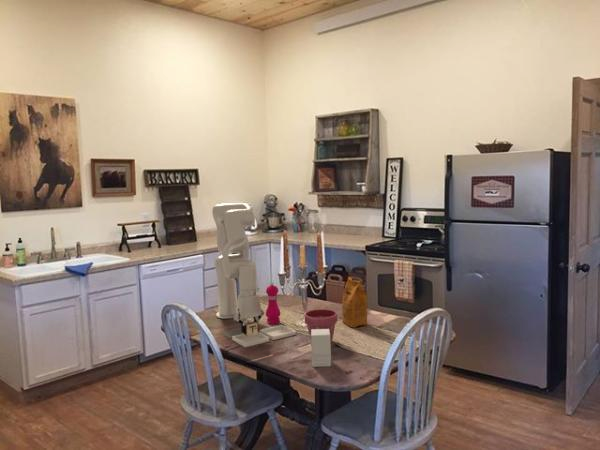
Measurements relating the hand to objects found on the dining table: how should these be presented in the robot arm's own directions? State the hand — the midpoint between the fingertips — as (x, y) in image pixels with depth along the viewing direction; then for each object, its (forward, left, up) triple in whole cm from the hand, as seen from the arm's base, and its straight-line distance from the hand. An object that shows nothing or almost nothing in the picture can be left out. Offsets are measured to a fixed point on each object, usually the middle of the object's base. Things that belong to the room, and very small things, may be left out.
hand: (249, 331), depth 227 cm
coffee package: (+11, +51, -5) cm, 52 cm away
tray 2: (+1, +14, -4) cm, 14 cm away
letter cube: (0, 0, -1) cm, 1 cm away
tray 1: (+1, 0, -4) cm, 4 cm away
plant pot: (+21, +24, -5) cm, 32 cm away
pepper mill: (-16, +22, -5) cm, 28 cm away
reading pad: (-13, 0, -4) cm, 14 cm away
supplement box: (+40, +9, -5) cm, 41 cm away
